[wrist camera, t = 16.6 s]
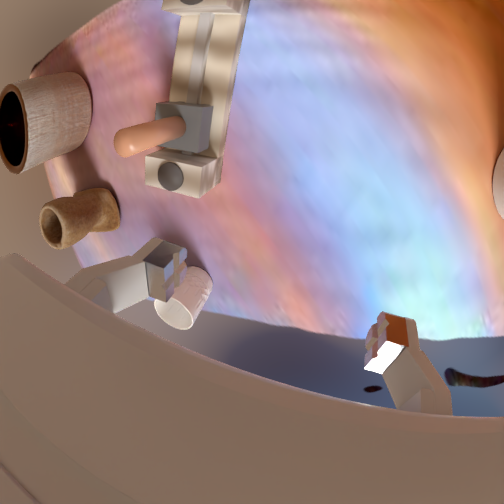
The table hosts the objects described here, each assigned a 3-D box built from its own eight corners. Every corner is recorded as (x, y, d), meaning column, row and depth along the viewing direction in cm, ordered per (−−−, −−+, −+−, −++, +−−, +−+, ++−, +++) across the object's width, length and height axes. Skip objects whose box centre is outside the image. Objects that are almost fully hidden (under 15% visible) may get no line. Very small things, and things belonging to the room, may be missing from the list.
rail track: (193, -6, 26) (165, -18, 20) (251, -7, 24) (231, -25, 18) (170, 170, 43) (143, 185, 37) (220, 182, 42) (197, 199, 36)
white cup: (181, 257, 52) (153, 288, 44) (219, 272, 51) (194, 308, 43) (179, 286, 57) (154, 317, 49) (213, 301, 56) (191, 336, 48)
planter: (46, 87, 41) (-10, 103, 28) (90, 58, 35) (21, 66, 22) (57, 155, 49) (4, 181, 37) (102, 140, 44) (36, 167, 31)
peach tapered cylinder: (173, 100, 34) (101, 113, 23) (217, 105, 33) (152, 116, 22) (170, 139, 38) (101, 166, 26) (211, 146, 36) (150, 176, 25)
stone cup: (113, 174, 47) (54, 205, 35) (128, 228, 53) (78, 268, 41) (72, 181, 52) (22, 209, 40) (86, 227, 58) (42, 260, 46)
